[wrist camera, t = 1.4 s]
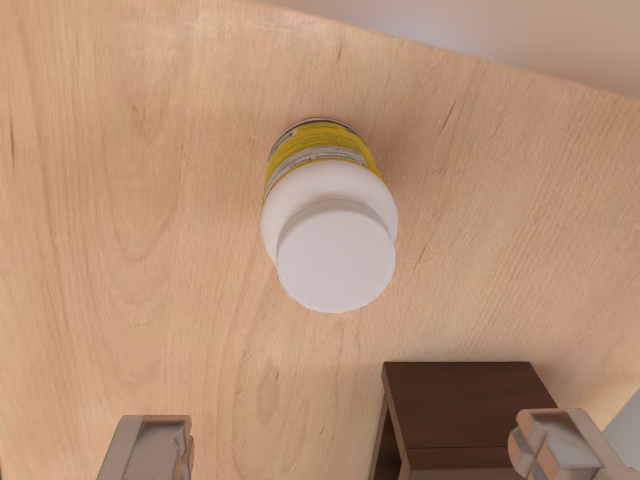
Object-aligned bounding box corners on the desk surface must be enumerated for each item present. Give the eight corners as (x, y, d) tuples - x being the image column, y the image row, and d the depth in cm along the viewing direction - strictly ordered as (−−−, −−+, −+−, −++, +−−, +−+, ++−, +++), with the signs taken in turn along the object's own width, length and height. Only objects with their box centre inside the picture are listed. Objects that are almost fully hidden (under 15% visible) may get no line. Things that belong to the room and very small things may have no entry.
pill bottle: (360, 217, 29) (397, 334, 19) (263, 208, 28) (250, 325, 18) (380, 121, 26) (434, 202, 16) (271, 108, 25) (260, 184, 15)
